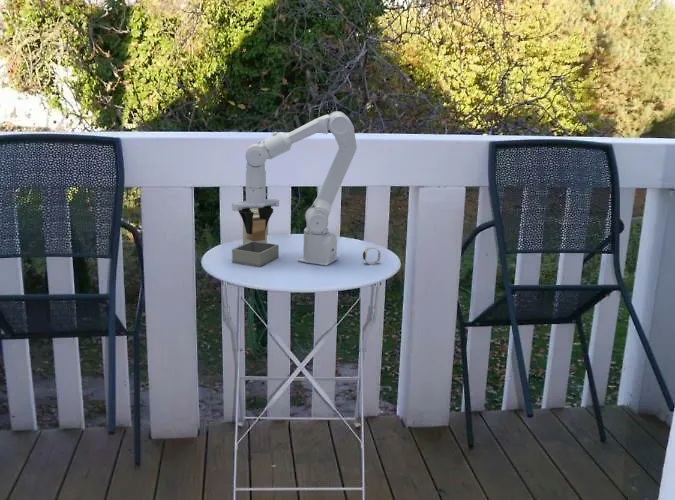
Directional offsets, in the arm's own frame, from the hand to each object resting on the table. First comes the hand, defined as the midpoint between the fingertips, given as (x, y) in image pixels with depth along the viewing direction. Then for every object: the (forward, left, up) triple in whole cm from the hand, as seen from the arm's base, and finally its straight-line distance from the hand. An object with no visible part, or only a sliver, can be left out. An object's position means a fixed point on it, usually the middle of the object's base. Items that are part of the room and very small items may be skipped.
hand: (255, 232), depth 213 cm
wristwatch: (-32, -14, -9) cm, 35 cm away
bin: (0, 0, -8) cm, 8 cm away
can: (+7, -13, -9) cm, 17 cm away
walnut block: (0, 0, -2) cm, 2 cm away
